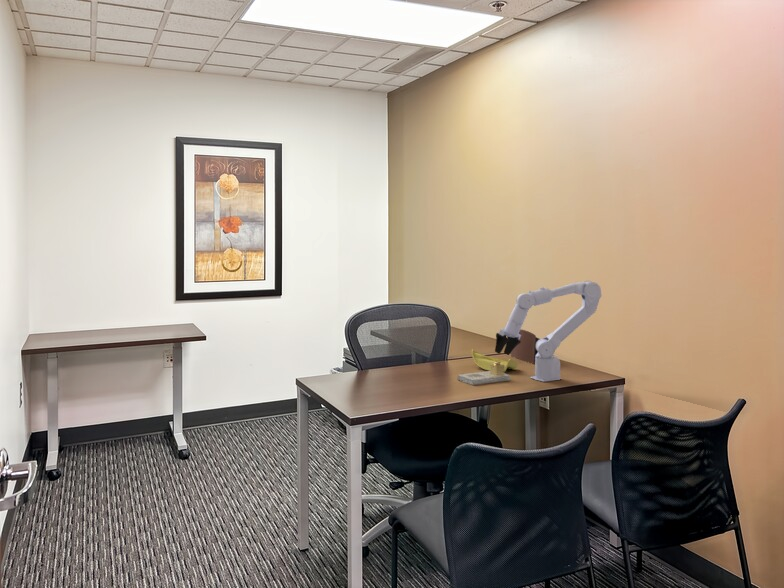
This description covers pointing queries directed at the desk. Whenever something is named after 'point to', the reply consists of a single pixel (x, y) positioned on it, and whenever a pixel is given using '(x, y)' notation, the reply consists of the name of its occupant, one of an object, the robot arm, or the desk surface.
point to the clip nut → (497, 368)
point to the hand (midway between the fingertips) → (501, 353)
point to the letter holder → (526, 347)
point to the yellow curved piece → (492, 361)
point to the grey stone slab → (482, 378)
